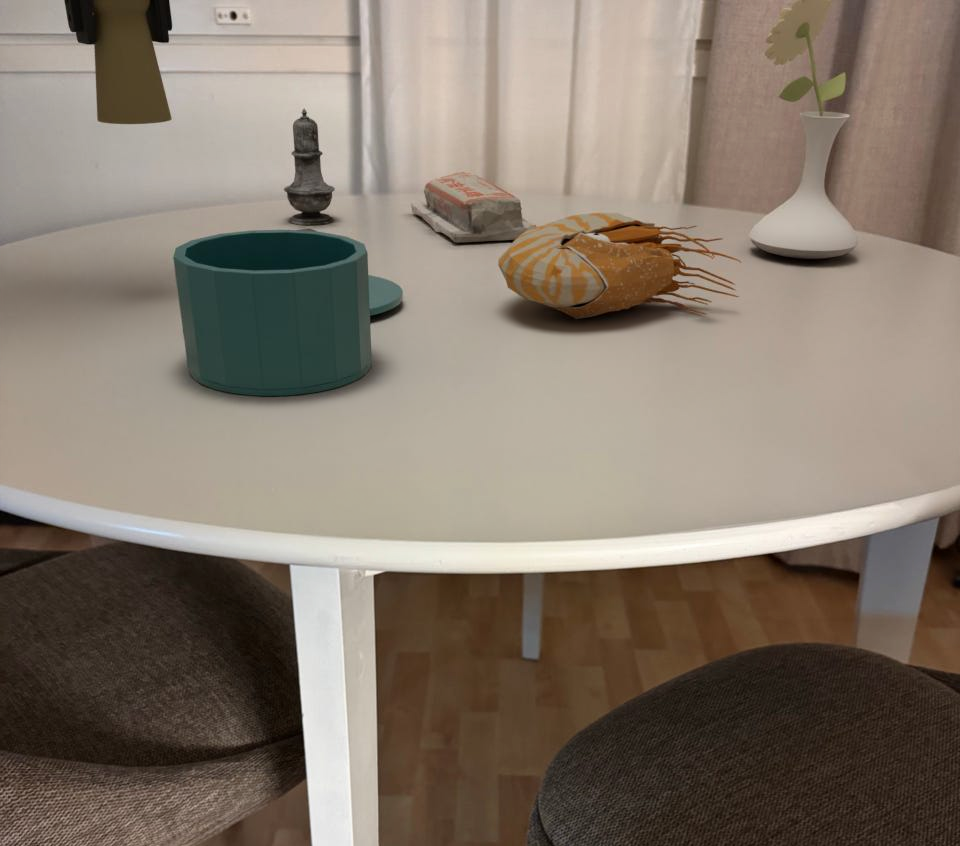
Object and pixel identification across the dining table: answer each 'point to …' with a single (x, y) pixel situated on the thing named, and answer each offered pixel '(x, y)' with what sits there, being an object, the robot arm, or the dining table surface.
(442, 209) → the packaged product
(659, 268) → the nautilus
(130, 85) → the cork
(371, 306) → the tin lid
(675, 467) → the dining table surface
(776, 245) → the flower in vase
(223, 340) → the tin
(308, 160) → the salt shaker
